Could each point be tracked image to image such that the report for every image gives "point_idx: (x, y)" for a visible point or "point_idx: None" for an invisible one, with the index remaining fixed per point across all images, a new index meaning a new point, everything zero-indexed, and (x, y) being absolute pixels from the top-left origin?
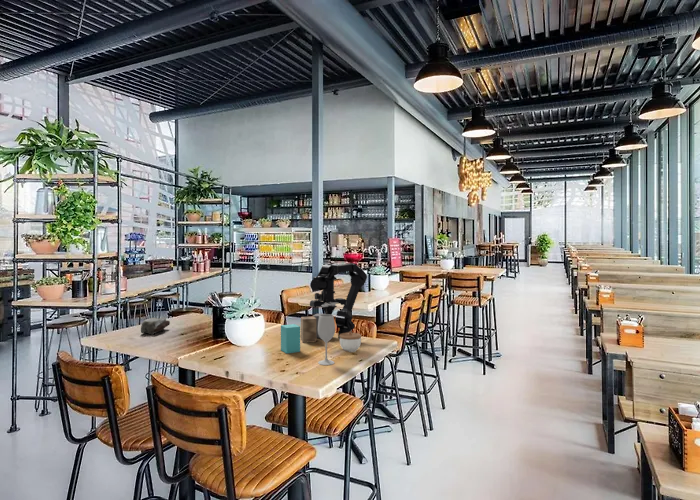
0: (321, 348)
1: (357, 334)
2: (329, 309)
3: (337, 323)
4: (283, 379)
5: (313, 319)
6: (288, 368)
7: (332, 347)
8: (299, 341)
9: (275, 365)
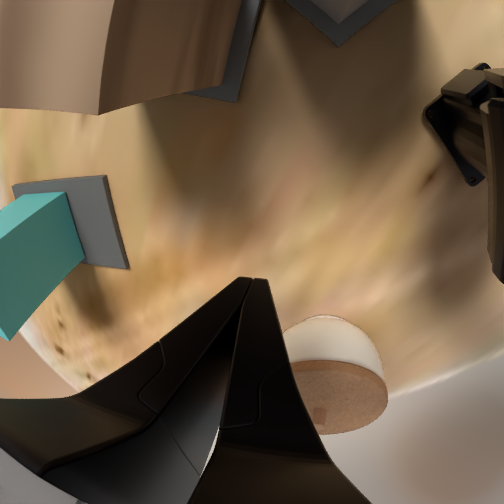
0: (204, 230)
1: (353, 421)
2: (191, 491)
3: (484, 140)
4: (69, 379)
5: (67, 110)
6: (68, 348)
7: (277, 246)
8: (53, 286)
9: (37, 313)
